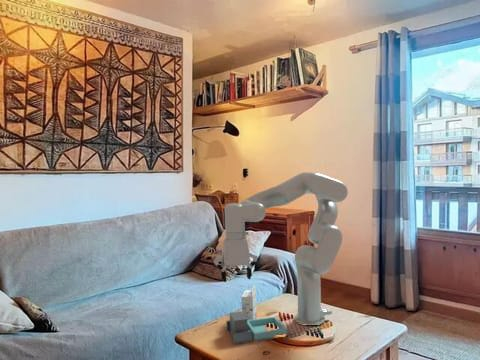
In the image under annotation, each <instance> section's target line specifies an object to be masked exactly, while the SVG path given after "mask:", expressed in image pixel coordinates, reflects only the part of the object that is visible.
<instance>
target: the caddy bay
mask: <svg viewBox="0 0 480 360" xmlns="http://www.w3.org/2000/svg"><path fill="white" fill-rule="evenodd" d="M225 324H226V329H225V330H226V332H230V319H229V320H226V321H225ZM251 342H253V338H252V331H251V330H249V331H241V332H234V333H233V337H232V344H233V345H238V344H245V343H251Z"/></svg>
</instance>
